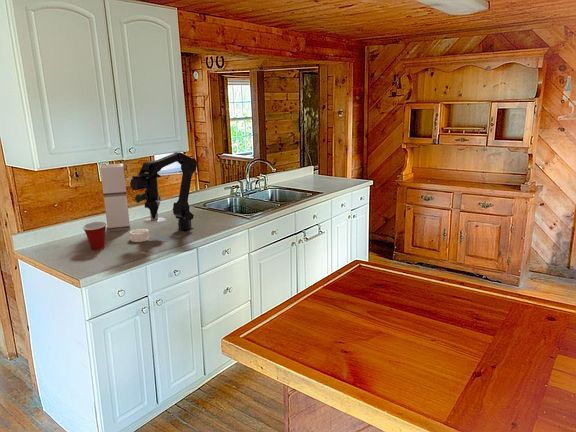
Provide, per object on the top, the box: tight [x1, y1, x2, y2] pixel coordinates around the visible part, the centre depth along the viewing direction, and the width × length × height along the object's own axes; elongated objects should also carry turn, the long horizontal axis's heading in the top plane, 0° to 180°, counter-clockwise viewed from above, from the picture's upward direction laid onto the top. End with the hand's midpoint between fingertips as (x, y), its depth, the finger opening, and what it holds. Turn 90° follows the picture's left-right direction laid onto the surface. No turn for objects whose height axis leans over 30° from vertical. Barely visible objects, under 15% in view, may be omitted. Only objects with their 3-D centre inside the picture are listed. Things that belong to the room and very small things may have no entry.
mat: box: [149, 232, 182, 243], centre depth 227 cm, size 11×11×1 cm
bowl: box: [129, 228, 150, 243], centre depth 225 cm, size 9×9×4 cm
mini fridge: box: [99, 163, 131, 233], centre depth 242 cm, size 11×11×35 cm
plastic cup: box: [81, 221, 107, 251], centre depth 212 cm, size 11×11×12 cm
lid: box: [142, 210, 167, 226], centre depth 223 cm, size 11×11×5 cm
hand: (154, 217), depth 224 cm, fingers closed on lid, 4 cm apart
